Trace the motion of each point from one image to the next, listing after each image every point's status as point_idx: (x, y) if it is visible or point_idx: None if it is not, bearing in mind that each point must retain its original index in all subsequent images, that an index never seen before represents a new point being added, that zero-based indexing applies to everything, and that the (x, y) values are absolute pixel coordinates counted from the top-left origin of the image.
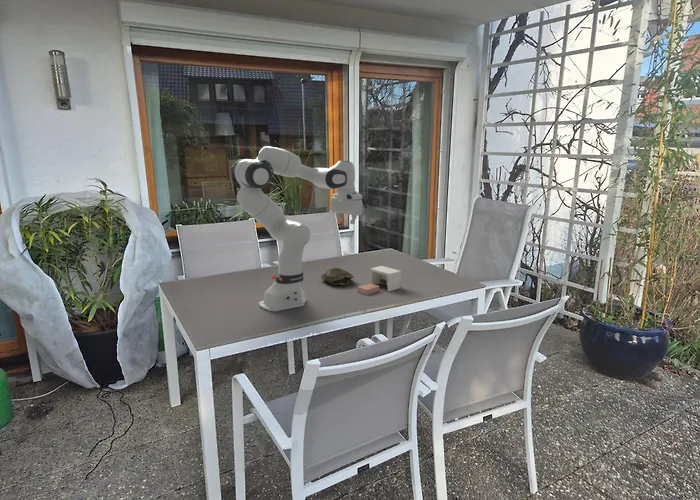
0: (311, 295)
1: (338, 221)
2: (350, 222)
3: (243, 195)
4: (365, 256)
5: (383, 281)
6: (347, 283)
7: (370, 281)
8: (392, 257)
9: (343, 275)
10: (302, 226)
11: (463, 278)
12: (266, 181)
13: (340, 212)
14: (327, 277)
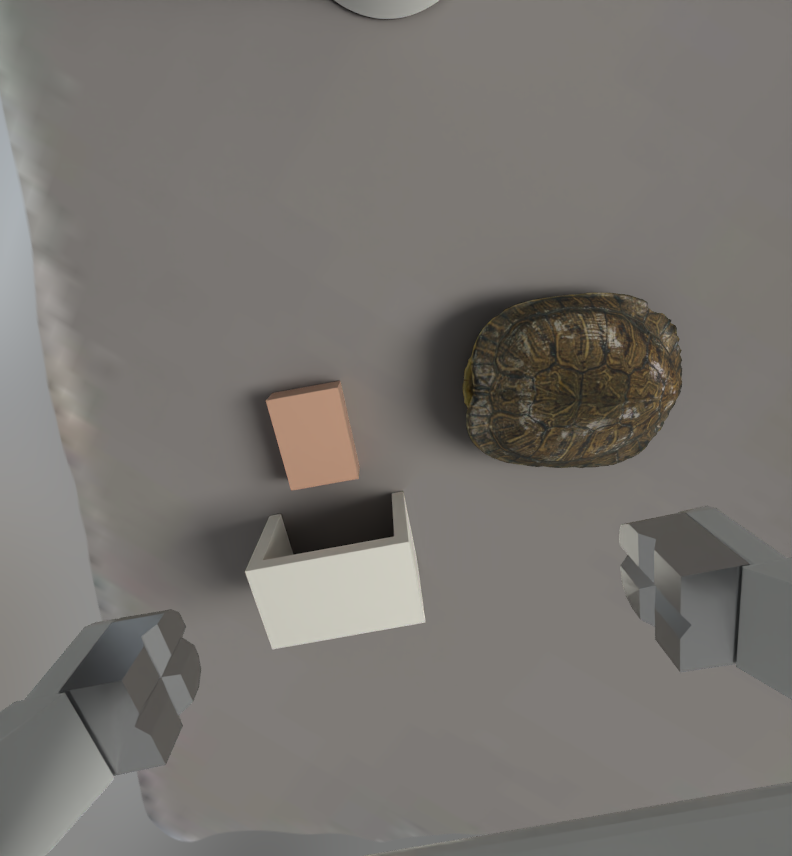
0: (421, 98)
1: (670, 515)
2: (140, 630)
3: None
4: None
5: None
6: (465, 393)
7: (400, 501)
8: (716, 793)
9: (494, 388)
10: None
11: (279, 830)
12: None
13: (705, 847)
14: (569, 308)
